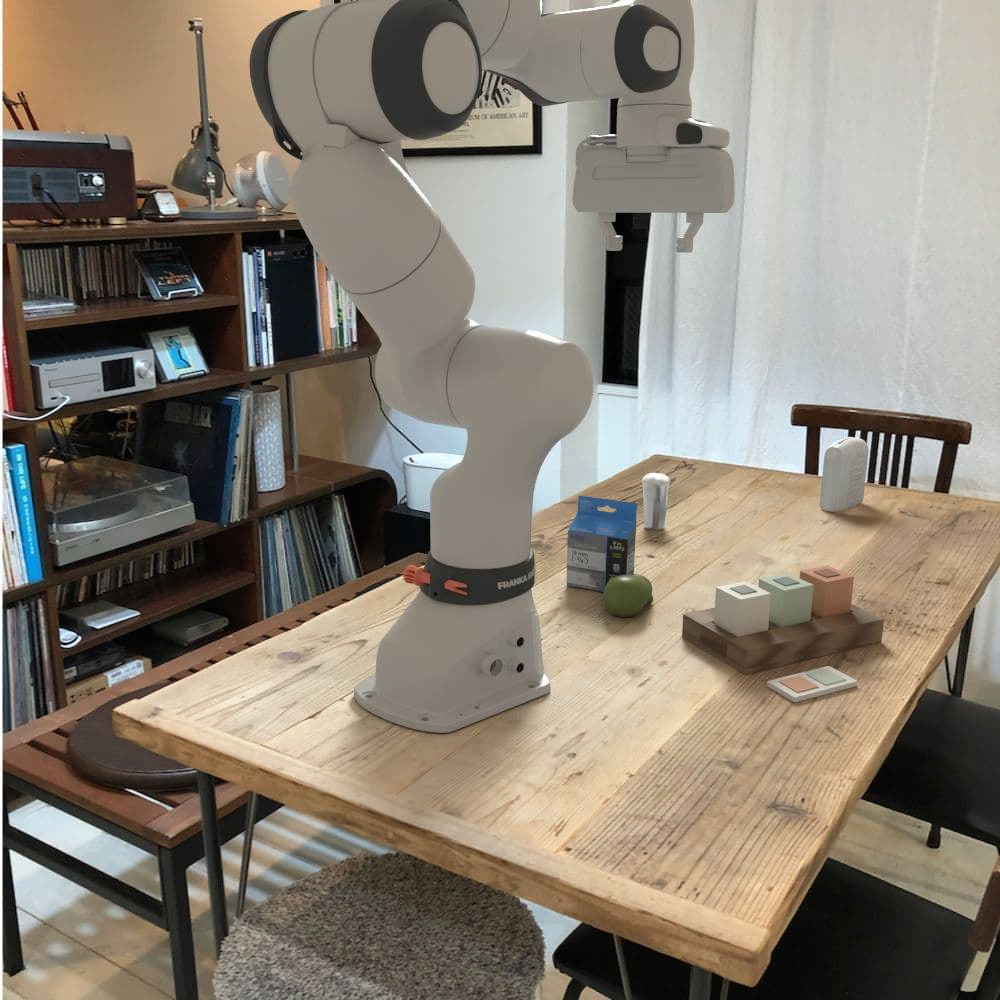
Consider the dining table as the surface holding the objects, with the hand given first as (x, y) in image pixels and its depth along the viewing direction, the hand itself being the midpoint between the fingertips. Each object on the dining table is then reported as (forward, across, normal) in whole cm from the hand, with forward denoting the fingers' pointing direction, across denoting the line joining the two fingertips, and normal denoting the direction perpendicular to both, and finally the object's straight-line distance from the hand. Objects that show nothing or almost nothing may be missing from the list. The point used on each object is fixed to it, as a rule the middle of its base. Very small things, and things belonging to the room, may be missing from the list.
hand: (648, 251), depth 127 cm
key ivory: (+43, +18, -10) cm, 47 cm away
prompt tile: (+46, +28, -15) cm, 56 cm away
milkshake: (+46, -10, +30) cm, 56 cm away
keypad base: (+46, +21, -4) cm, 51 cm away
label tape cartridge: (+46, -5, 0) cm, 46 cm away
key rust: (+43, +25, +2) cm, 50 cm away
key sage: (+43, +21, -4) cm, 48 cm away
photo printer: (+46, +13, +59) cm, 76 cm away
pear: (+46, +1, -5) cm, 46 cm away
